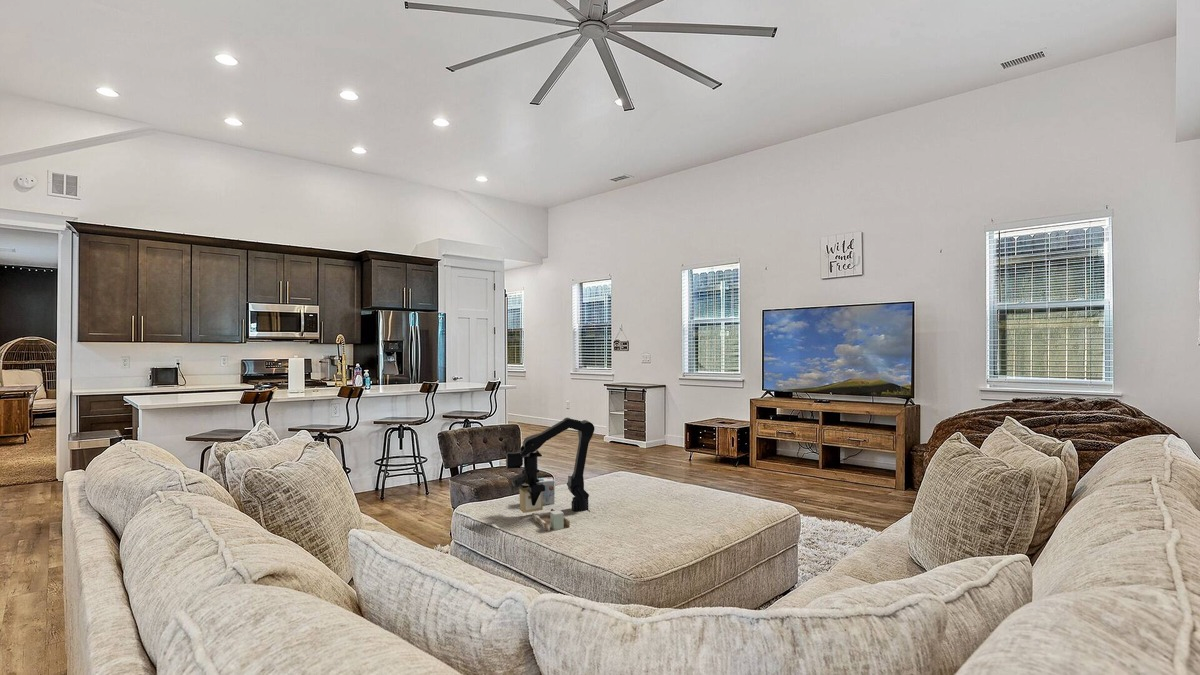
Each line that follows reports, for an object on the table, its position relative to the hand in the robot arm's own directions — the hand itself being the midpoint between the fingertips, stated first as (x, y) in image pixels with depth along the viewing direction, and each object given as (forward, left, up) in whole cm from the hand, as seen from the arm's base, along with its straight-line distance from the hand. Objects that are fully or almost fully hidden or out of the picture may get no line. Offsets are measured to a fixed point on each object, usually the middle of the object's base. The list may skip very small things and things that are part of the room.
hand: (531, 503), depth 252 cm
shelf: (-3, +14, -5) cm, 15 cm away
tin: (-3, +21, -4) cm, 22 cm away
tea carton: (0, 0, -3) cm, 3 cm away
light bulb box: (-11, -16, -6) cm, 20 cm away
